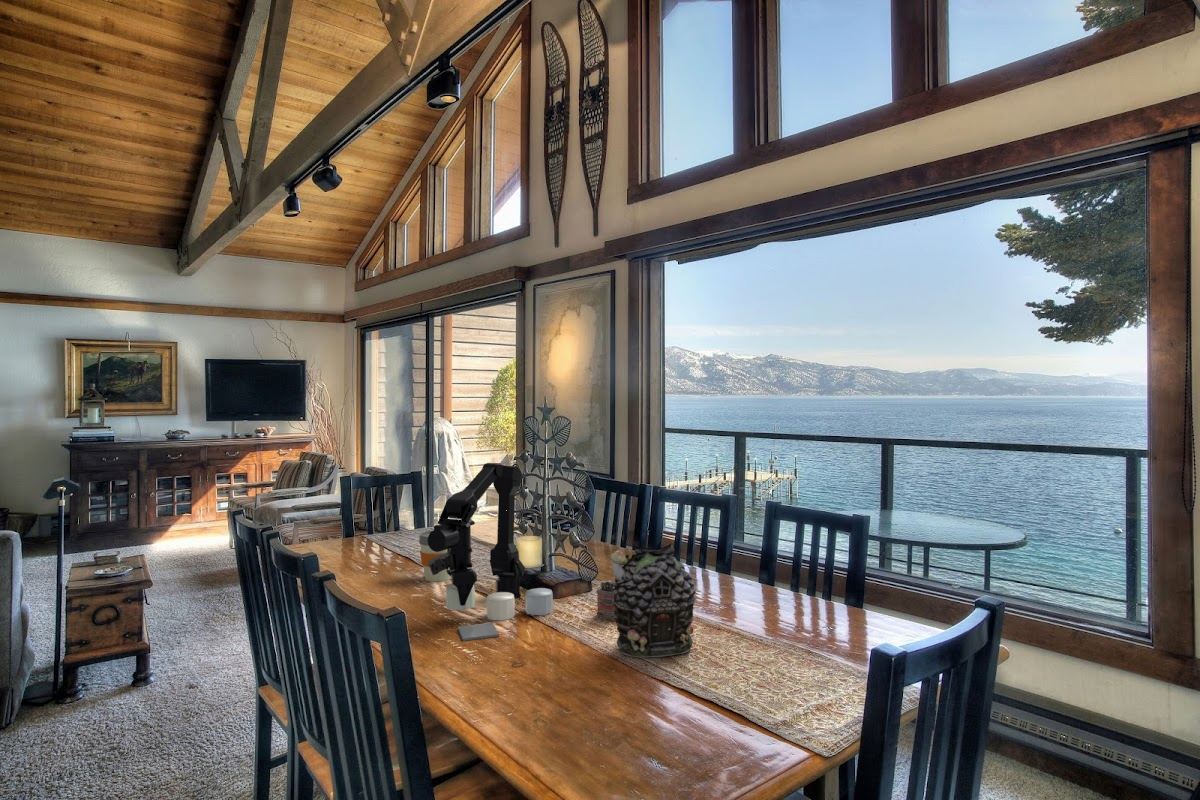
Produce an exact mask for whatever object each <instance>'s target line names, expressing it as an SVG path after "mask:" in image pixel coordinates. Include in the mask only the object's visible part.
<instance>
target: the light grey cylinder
mask: <svg viewBox="0 0 1200 800" xmlns="http://www.w3.org/2000/svg"><path fill="white" fill-rule="evenodd" d="M553 596H554V594H553V591H552V589H550V588H545V587H537V588H530V589H528V590H526V592H525V613H526V612H527V613H526V614H527V615H529V614H531V615H530V616H534V615H541V616H546V615H545V614H547V615H549V614H548V613H550V614H552V613H551V612H553V611H554V604H553V603H554V597H553Z"/></svg>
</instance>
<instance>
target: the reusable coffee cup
mask: <svg viewBox="0 0 1200 800" xmlns="http://www.w3.org/2000/svg"><path fill="white" fill-rule="evenodd" d="M431 531H432V530H428V531H423V532H421V533H420V534H419V541H418V544H419V545H420V551H419V553H420V561H421V565H422V566H423V574H424V580H425V581H427V582H432V581H433V583H434V582H435V583H436V582H438V581H439V582H446V581H449V580H452V579H451V576H450V575H449V574H448V573H447V571H446V569H445V570H443V571H441V572H439V573H438V574H436V575H432V572H431V570H430V567H429V565H428V561H429V560H431V559H433V558H435V557H437V556H440V555H442V554H445V553H447V549H446V550H443V551H440V552H435V551H433V550H432V549H431V548H430V547H429V545H428V536H429V534H430V533H431ZM448 570H449V568H448Z"/></svg>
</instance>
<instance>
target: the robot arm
mask: <svg viewBox="0 0 1200 800" xmlns="http://www.w3.org/2000/svg"><path fill="white" fill-rule="evenodd" d="M522 477H523V473H522V470H521V469H520V468H519V466H517V465H503V464H501V463H499V462H487V463H484V464H483V465H482V467H481V470H480V471H479V472H478V473H477V474H476V475H475V476H474V478H473V479H472V480H471V481H470V482H469V483H468V485H467V486H466V487H464V489H462V490H461V491H458V492H456V493H455V492H454V494H452V495H451V496H450V497H449V498H447V500H446V501H445V504H444V506H443V509H442V511H441V514H440V516H439V518H438V521H437V524H435V525H433V530H430V531H431V533H430V534H429V536H428V545H429V547H430V548H431V549H432V550H433V551H435V552H440V551H443V550H446V549H447V553H445V554H442V555H440V556H437V557H435V558H433V559H431V560H429V561H428V565H429V567H430V570H431V572H432V575H436V574H438V573H439V572H441V571H443V570H445V569H446V571H447V573H448V574H449V575H450V576H451V579H450V580H451V583H452V584H453V585H454V586H456V587H457V590H458V595H459V600H460V605H461V606H464V605H465V603H466V601H467V599H468V596H469V594H470V592H471V589H472V587H473V585H474V586H475V583H477V582H478V574H477V572H476V571H475V570H474V569H473V563H472V553H473V548H472V545H471V544H472V539H471V538H472V537H471V535H472V534H471V533H472V532H471V528H472V526H474V525H475V524H476V522H475V521H474V520H473V519H472V518H473V516H474V514H475V513H476V511H477V509H478V501H479V500H480V499H481V497H482V496H483V495H484V494H485V493H486V492H487V490H489V488H490V487H491V485H492V484H493V488H494V489H495V491H496V493H497V495H498V496H497V497H498V499H497V500H498V504H497V533H496V534H497V538H496V539H497V541H496V544H495V546H494V547H493V548H491V549H490V552H489V555H490V557H489V558H490V559H489V563H490V564H489V565H490V570H491V573H492V576H497V579H496V580H495V593H497V592H508V593H512V594H514V598H520V596H521V597H522V594H521V592H520V591H521V589H520V588H521V587H520V583H521V581H520V579H521V578H522V577H524V575H525V570H526V567H525V566H524V564H523V563H522V561H521V560H520V555H519V549H518V548H517V546H516V544H515V541H514V540H515V539H514V538H515V506H516V505H515V503H516V502H515V497H516V493H517V492H518V491H519V489H520V487H521V483H522V482H521V481H522ZM506 510H507V511H506ZM448 568H449V570H448Z"/></svg>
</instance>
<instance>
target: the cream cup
mask: <svg viewBox="0 0 1200 800" xmlns="http://www.w3.org/2000/svg"><path fill="white" fill-rule="evenodd" d="M515 603H516V602H515V597H514V594H512V593H508V592H497V593H496V592H493V593H490V594H489V593H488V595H486V617H487V619H488V620H491V621H498V622H499V621H507V620H510V619H513V618H514V616H515V613H516V612H515V606H516V605H515Z"/></svg>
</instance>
